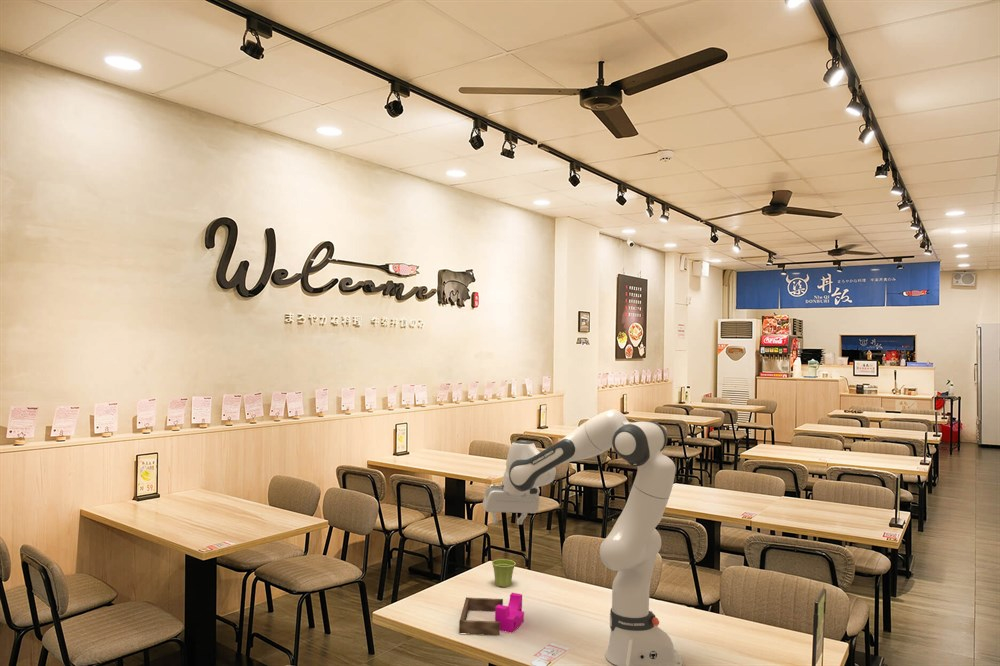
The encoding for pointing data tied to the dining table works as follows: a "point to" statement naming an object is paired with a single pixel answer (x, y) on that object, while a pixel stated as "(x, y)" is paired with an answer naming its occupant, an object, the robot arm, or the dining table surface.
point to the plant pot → (503, 572)
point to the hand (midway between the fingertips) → (507, 523)
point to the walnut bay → (479, 626)
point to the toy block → (510, 613)
